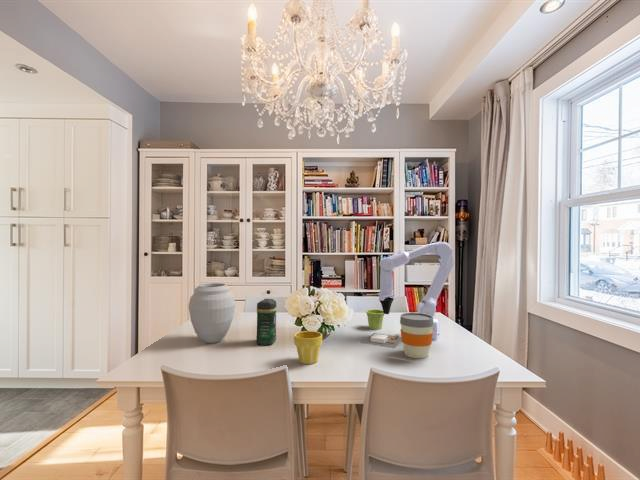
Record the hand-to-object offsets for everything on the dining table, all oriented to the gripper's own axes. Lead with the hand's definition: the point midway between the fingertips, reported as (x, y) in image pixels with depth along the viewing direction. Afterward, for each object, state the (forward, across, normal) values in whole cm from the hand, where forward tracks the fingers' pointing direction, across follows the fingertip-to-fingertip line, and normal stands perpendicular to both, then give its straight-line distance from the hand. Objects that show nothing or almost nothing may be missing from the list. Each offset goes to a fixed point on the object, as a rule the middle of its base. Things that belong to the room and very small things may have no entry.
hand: (386, 313), depth 157 cm
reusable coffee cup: (+11, +18, +18) cm, 28 cm away
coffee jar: (+11, +34, -42) cm, 55 cm away
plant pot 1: (+11, +44, -15) cm, 48 cm away
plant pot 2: (+11, -10, -9) cm, 17 cm away
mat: (+10, +7, +1) cm, 13 cm away
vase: (+11, +44, -64) cm, 78 cm away
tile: (+9, +6, 0) cm, 11 cm away
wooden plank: (+10, +5, +5) cm, 12 cm away
